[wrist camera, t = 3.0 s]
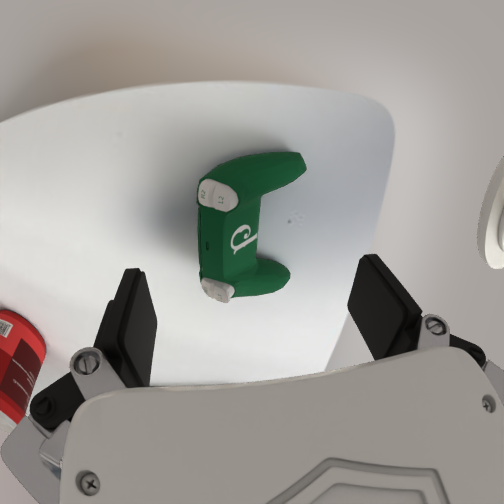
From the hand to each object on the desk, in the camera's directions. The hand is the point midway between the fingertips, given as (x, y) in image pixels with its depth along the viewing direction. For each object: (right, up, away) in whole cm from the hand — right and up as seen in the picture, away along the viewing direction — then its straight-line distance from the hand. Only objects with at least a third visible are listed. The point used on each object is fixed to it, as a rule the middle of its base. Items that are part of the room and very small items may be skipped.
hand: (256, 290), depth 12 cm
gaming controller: (0, +4, +6) cm, 7 cm away
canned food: (-25, -7, +9) cm, 28 cm away
